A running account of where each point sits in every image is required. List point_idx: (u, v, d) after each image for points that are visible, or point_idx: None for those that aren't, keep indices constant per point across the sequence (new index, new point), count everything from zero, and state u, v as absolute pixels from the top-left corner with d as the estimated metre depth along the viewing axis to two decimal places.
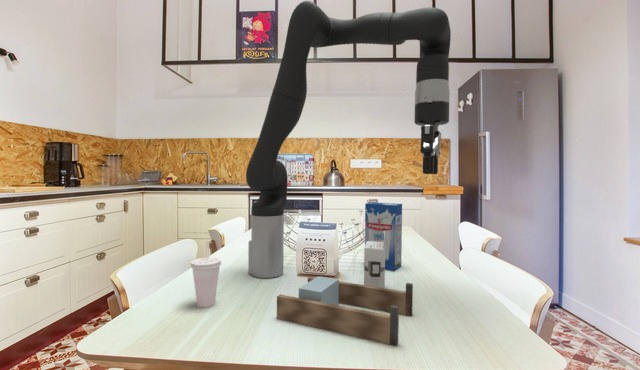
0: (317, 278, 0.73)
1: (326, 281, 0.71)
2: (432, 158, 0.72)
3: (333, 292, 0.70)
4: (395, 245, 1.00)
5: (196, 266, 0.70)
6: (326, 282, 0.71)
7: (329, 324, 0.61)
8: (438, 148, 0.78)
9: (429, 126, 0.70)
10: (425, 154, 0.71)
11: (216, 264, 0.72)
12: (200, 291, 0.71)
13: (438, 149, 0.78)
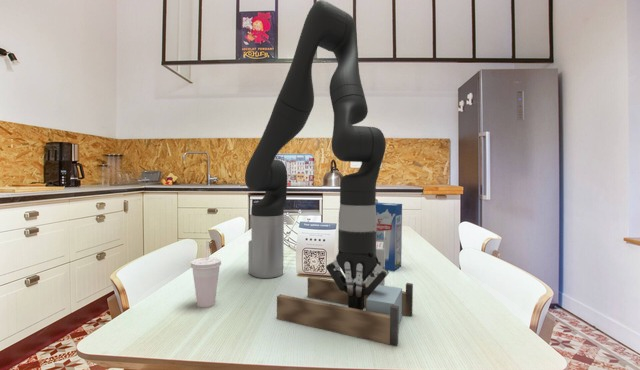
0: (378, 287, 0.67)
1: (390, 291, 0.65)
2: None
3: (399, 302, 0.65)
4: (395, 245, 1.00)
5: (196, 266, 0.70)
6: (391, 292, 0.64)
7: (329, 324, 0.61)
8: None
9: (387, 274, 0.64)
10: None
11: (216, 264, 0.72)
12: (200, 291, 0.71)
13: None
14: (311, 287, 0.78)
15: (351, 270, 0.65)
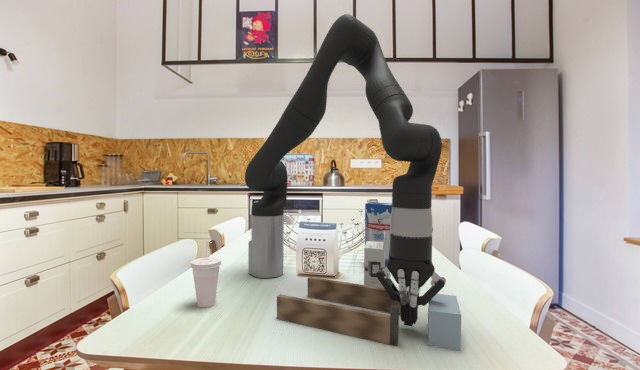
0: None
1: (447, 299, 0.61)
2: None
3: None
4: None
5: (196, 266, 0.70)
6: (449, 301, 0.60)
7: (329, 324, 0.61)
8: None
9: None
10: None
11: (216, 264, 0.72)
12: (200, 291, 0.71)
13: (408, 286, 0.63)
14: (311, 287, 0.78)
15: (405, 278, 0.61)
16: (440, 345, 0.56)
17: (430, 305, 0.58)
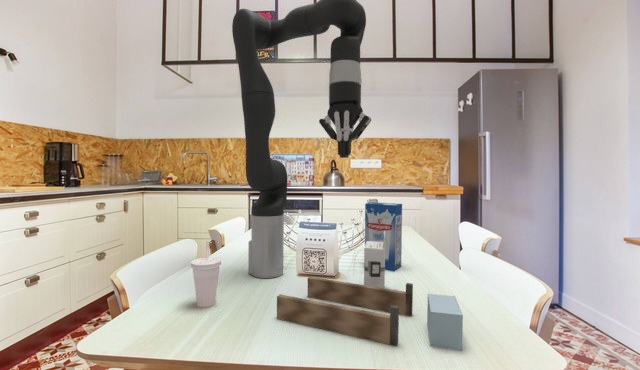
0: (431, 296, 0.63)
1: (446, 300, 0.61)
2: None
3: None
4: (395, 245, 1.00)
5: (196, 266, 0.70)
6: (449, 302, 0.60)
7: (329, 324, 0.61)
8: None
9: (370, 120, 0.76)
10: (351, 139, 0.77)
11: (216, 264, 0.72)
12: (200, 291, 0.71)
13: None
14: (311, 287, 0.78)
15: (340, 119, 0.78)
16: (442, 346, 0.56)
17: (431, 306, 0.58)
